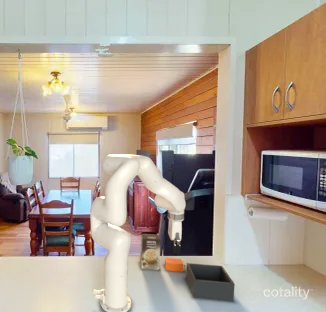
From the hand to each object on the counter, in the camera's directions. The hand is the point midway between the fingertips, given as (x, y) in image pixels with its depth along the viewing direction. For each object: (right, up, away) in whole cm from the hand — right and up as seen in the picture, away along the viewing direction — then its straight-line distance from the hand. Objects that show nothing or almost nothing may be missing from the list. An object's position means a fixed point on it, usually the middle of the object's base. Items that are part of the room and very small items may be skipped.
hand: (174, 248), depth 123 cm
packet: (0, -11, +1) cm, 11 cm away
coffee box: (-12, -11, +3) cm, 16 cm away
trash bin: (+9, -12, -16) cm, 22 cm away
